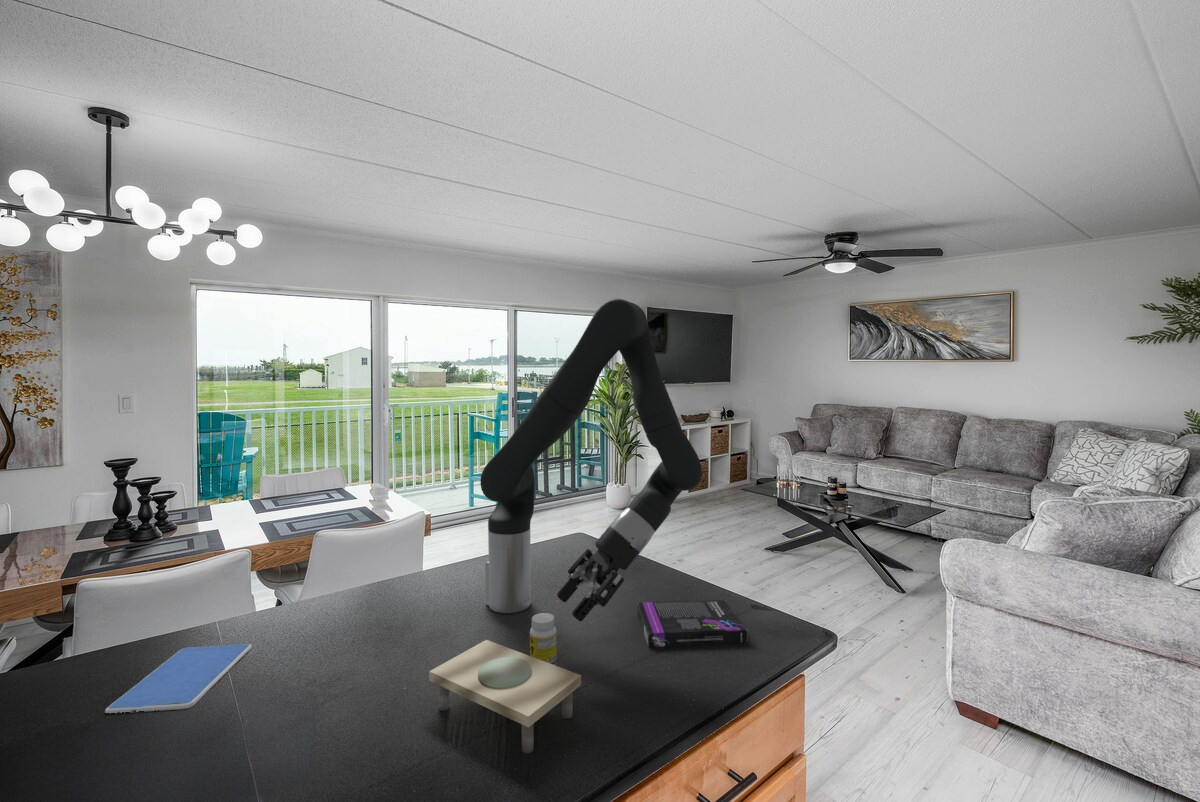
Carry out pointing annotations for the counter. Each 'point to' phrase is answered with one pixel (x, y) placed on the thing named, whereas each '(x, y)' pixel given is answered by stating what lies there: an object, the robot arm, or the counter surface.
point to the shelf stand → (507, 685)
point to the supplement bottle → (543, 638)
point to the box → (690, 623)
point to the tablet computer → (180, 679)
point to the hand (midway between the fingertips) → (567, 608)
